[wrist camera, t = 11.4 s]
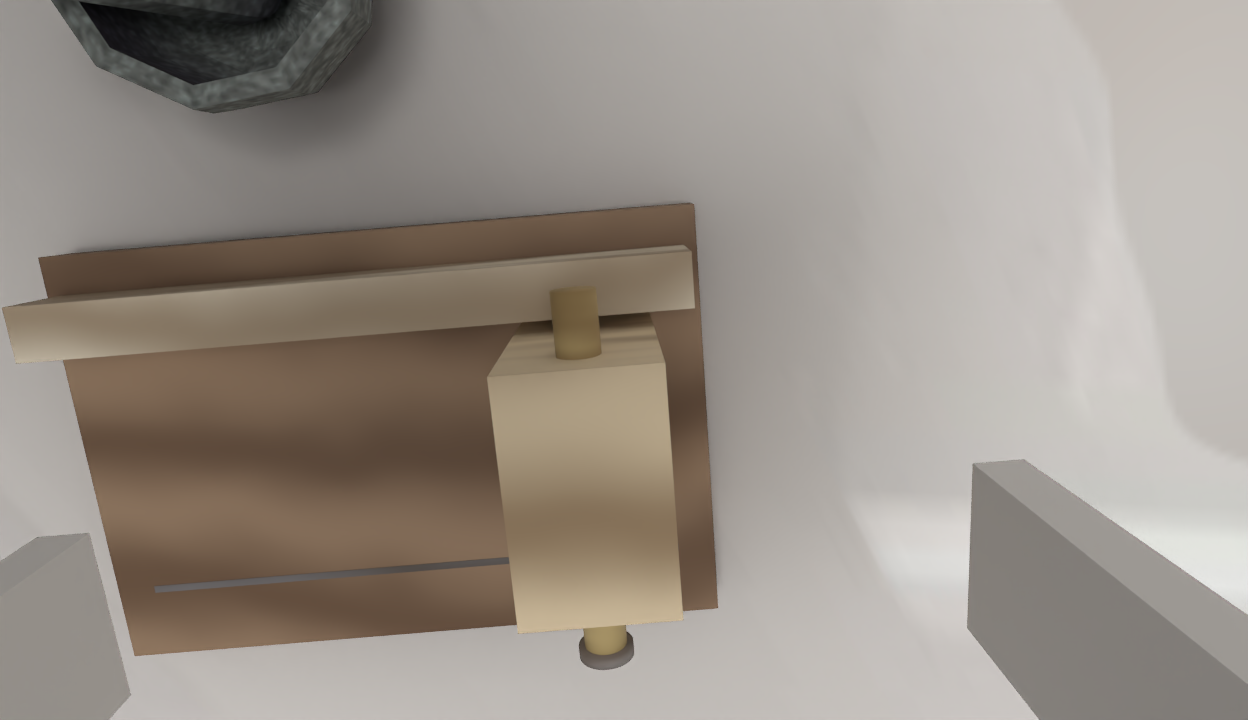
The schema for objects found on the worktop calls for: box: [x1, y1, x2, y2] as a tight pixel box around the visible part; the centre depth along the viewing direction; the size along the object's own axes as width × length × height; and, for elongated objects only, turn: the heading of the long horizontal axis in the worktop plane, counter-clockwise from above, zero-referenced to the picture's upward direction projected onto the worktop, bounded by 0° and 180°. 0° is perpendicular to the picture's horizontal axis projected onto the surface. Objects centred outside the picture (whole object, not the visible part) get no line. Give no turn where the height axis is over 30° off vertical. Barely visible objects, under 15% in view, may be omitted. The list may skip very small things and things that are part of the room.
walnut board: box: [2, 203, 718, 656], centre depth 31 cm, size 17×25×5 cm
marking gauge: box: [487, 286, 683, 670], centre depth 27 cm, size 12×5×9 cm, turn 5°
